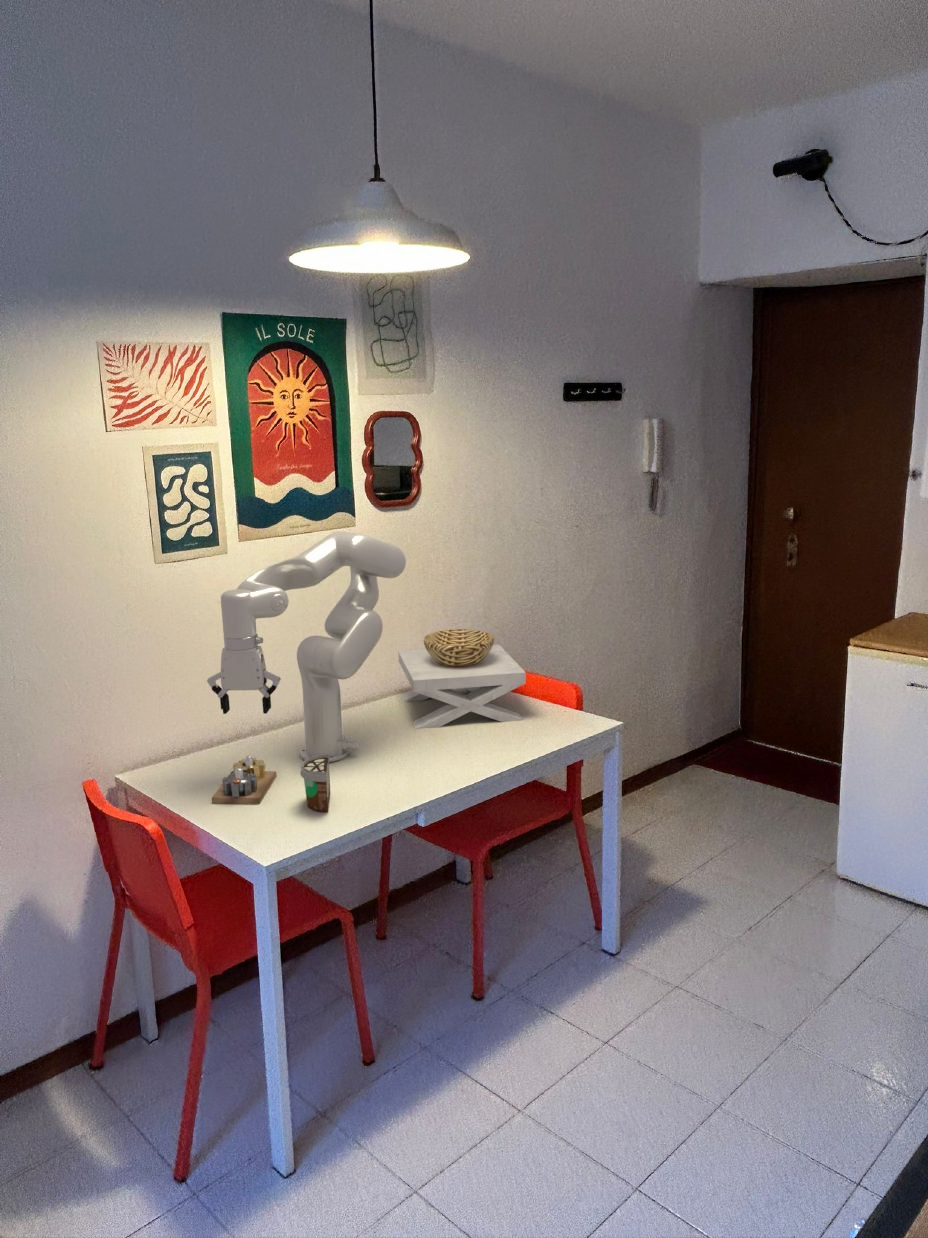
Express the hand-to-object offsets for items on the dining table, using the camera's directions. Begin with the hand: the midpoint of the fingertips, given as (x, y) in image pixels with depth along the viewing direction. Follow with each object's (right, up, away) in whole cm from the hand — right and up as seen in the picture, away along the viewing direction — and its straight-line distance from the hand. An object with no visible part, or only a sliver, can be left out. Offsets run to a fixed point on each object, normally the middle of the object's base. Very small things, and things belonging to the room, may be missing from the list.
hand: (246, 712), depth 226 cm
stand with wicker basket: (+51, -5, +58) cm, 77 cm away
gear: (0, -18, -5) cm, 19 cm away
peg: (0, -16, +4) cm, 16 cm away
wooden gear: (0, -16, +4) cm, 16 cm away
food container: (+18, -20, -9) cm, 29 cm away
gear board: (0, -18, 0) cm, 18 cm away
